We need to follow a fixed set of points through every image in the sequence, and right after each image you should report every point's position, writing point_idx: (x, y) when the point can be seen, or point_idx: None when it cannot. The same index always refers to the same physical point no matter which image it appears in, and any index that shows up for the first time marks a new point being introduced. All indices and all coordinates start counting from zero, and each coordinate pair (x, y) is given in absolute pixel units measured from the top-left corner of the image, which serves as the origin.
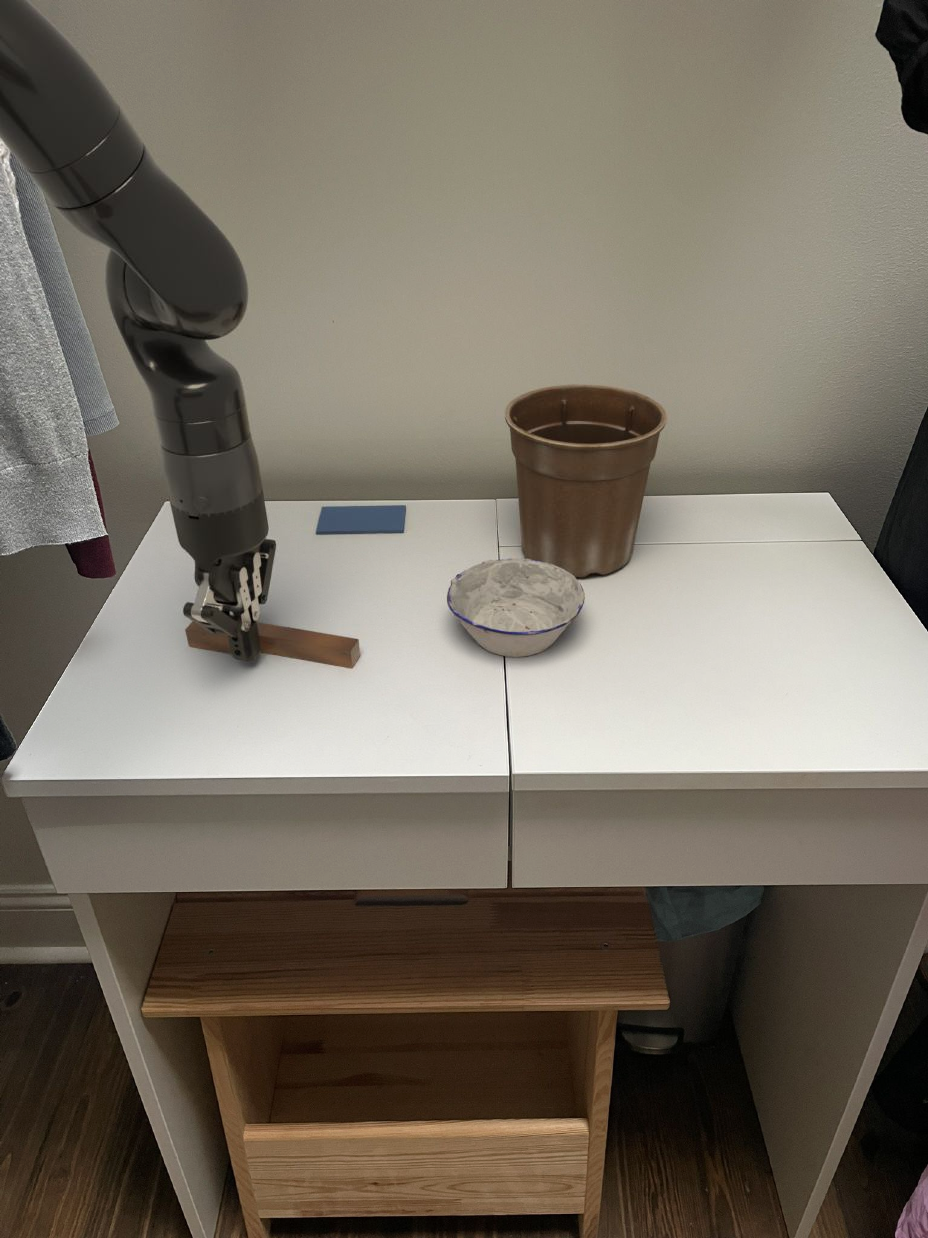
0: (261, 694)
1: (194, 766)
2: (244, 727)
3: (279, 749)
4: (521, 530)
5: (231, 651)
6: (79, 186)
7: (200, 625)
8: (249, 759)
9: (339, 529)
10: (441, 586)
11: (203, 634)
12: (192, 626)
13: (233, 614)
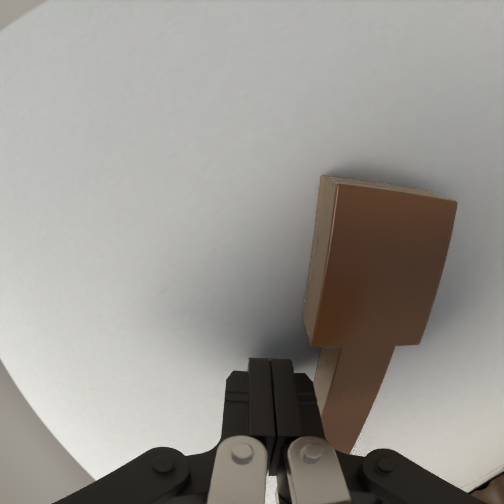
0: (180, 403)
1: (4, 349)
2: (94, 396)
3: (86, 438)
4: (495, 501)
5: (226, 387)
6: None
7: (77, 494)
8: (52, 410)
9: None
10: (462, 467)
11: (324, 253)
12: (358, 202)
13: (286, 462)
